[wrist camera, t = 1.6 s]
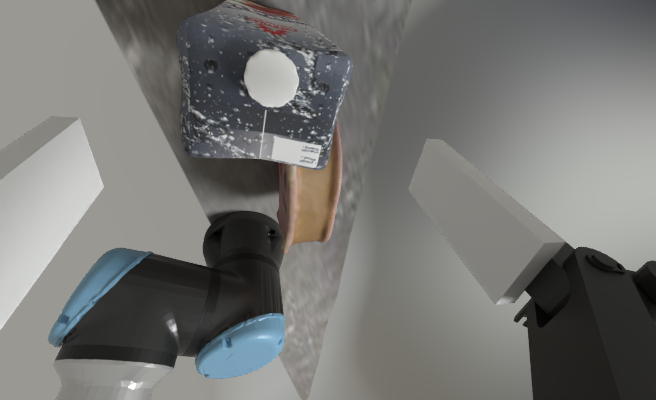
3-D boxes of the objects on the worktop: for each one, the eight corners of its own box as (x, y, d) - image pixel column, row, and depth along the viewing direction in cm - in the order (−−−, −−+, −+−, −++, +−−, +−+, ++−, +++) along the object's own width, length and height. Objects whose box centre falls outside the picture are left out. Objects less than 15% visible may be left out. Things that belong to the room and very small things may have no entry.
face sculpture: (272, 86, 41) (283, 133, 28) (320, 88, 42) (352, 134, 29) (273, 200, 52) (281, 272, 39) (311, 199, 54) (330, 267, 41)
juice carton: (292, 85, 41) (336, 191, 20) (214, 70, 38) (168, 177, 17) (304, 14, 36) (378, 54, 15) (215, -11, 33) (154, -3, 12)
